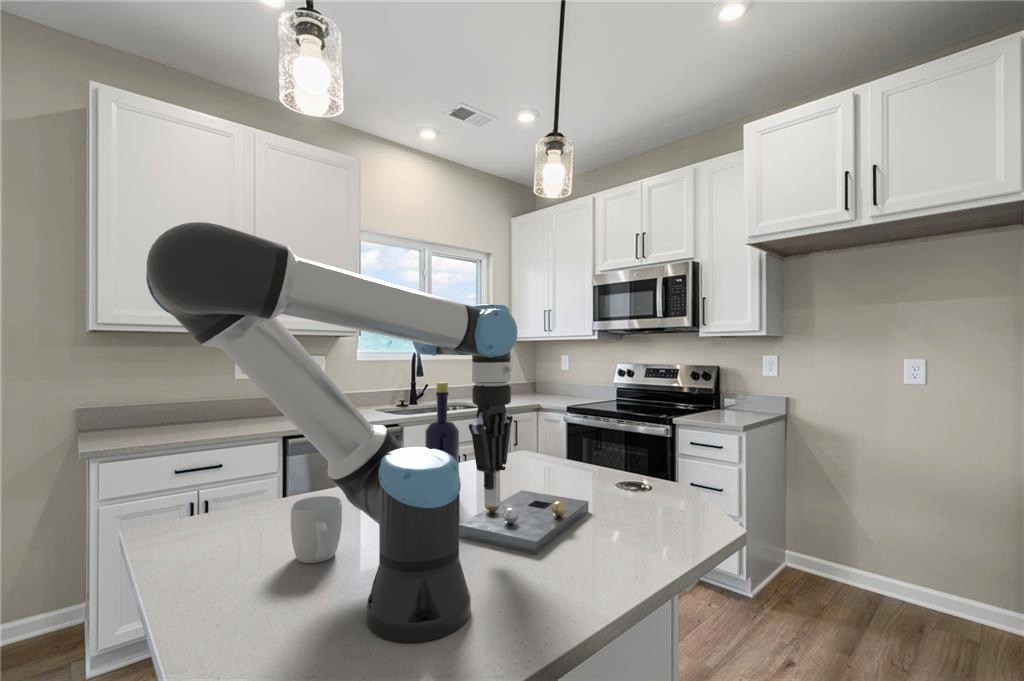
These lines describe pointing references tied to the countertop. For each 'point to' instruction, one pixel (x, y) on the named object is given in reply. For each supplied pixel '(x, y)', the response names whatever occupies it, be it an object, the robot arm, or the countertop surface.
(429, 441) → the bottle
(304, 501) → the mug
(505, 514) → the steel ball
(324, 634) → the countertop surface
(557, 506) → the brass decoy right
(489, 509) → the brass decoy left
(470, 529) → the plate
